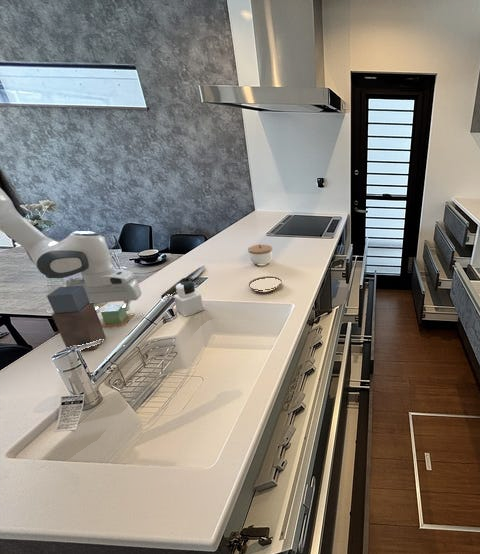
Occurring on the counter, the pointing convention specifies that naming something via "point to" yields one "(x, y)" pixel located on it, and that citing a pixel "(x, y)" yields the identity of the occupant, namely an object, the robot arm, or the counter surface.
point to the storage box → (80, 327)
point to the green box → (113, 314)
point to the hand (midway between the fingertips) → (111, 311)
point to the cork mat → (117, 323)
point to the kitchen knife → (191, 276)
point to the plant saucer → (264, 278)
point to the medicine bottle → (188, 299)
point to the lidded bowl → (260, 254)
